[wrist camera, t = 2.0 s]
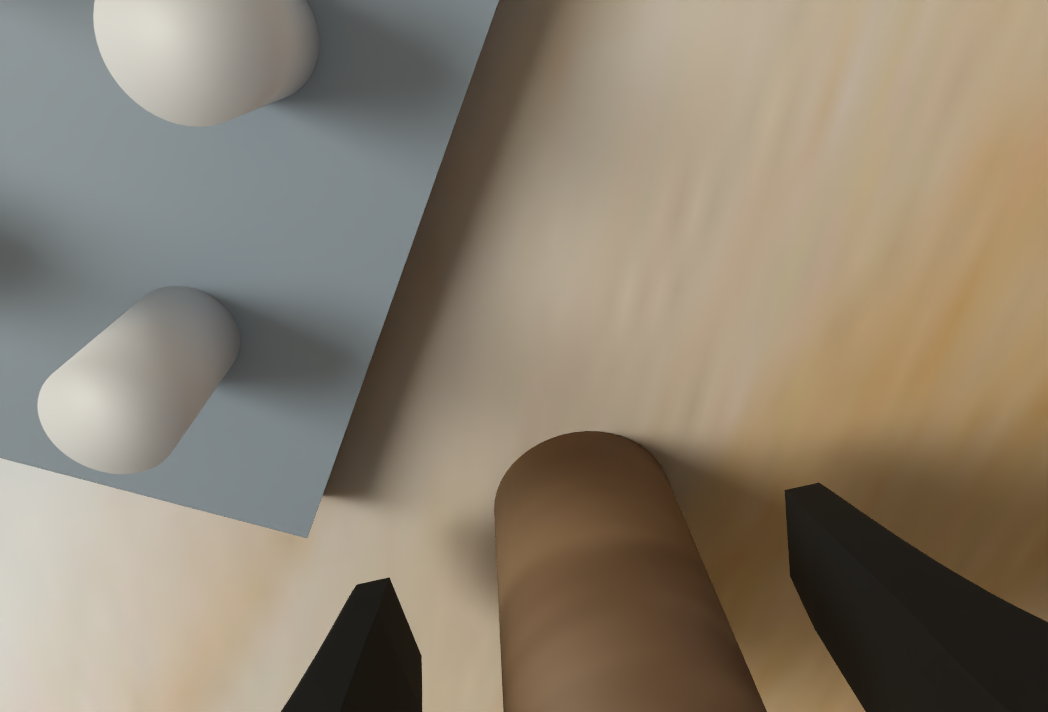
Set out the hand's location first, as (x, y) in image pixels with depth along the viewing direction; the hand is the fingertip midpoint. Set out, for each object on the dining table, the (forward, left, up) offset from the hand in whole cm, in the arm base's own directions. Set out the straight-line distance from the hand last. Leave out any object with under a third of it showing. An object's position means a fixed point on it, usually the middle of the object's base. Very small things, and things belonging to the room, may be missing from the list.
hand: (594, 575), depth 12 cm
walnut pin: (0, 0, -2) cm, 2 cm away
